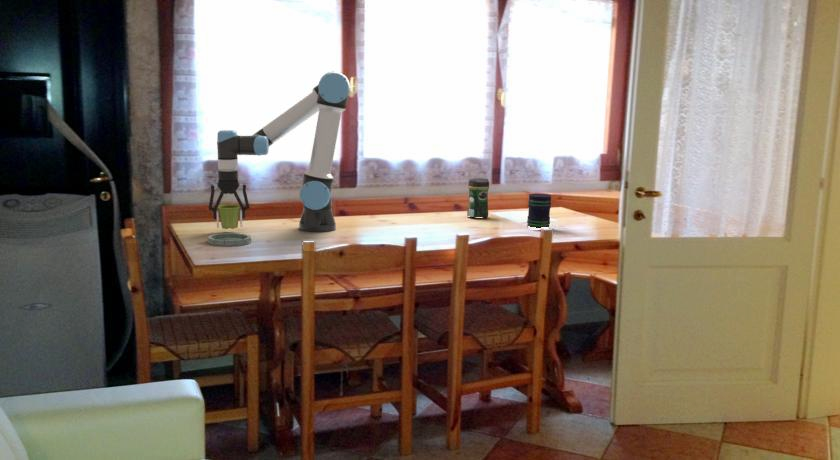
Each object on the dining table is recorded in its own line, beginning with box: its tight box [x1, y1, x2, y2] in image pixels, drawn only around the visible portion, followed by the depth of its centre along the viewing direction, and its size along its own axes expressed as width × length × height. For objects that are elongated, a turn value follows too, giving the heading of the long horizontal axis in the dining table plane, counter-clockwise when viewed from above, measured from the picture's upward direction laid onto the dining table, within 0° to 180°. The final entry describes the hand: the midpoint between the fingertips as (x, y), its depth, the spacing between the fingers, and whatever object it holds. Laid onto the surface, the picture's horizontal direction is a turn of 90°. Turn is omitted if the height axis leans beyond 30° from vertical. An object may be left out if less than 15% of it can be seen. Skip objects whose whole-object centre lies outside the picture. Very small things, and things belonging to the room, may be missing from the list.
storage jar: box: [526, 193, 552, 228], centre depth 355 cm, size 10×10×15 cm
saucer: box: [207, 232, 252, 247], centre depth 304 cm, size 16×16×2 cm
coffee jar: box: [466, 177, 490, 218], centre depth 380 cm, size 10×8×19 cm
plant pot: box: [217, 204, 241, 230], centre depth 322 cm, size 9×9×9 cm
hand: (229, 226), depth 322 cm, fingers closed on plant pot, 8 cm apart
